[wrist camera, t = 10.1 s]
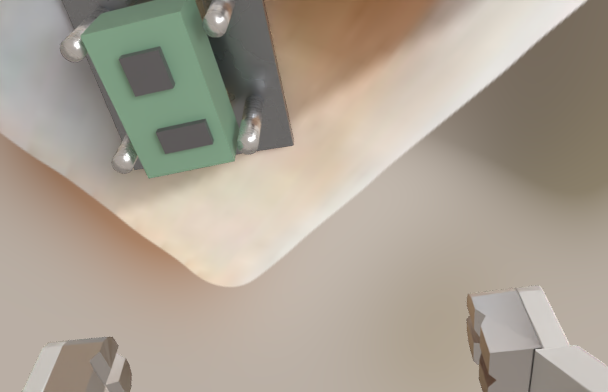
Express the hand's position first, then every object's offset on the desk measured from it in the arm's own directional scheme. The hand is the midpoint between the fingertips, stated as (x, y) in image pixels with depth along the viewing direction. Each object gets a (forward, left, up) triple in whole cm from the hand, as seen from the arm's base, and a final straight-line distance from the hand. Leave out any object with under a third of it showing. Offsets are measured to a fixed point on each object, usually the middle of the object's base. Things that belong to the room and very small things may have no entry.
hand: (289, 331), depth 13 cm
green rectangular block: (+4, -9, -26) cm, 28 cm away
